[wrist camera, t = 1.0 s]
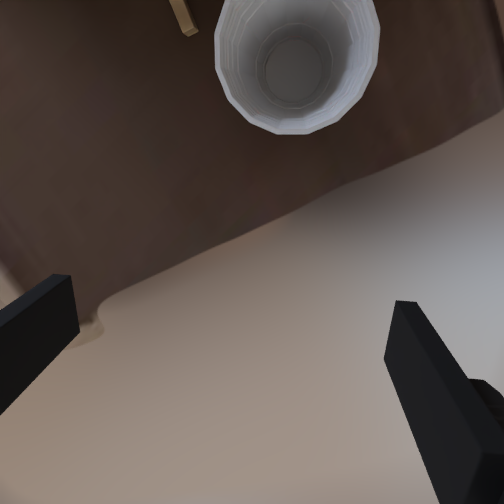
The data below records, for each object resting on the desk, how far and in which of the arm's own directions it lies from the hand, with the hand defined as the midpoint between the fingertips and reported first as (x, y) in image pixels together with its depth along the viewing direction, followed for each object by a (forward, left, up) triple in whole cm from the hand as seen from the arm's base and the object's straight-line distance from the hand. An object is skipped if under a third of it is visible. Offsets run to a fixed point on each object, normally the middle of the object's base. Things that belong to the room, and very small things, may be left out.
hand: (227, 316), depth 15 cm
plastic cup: (-10, +7, -26) cm, 29 cm away
